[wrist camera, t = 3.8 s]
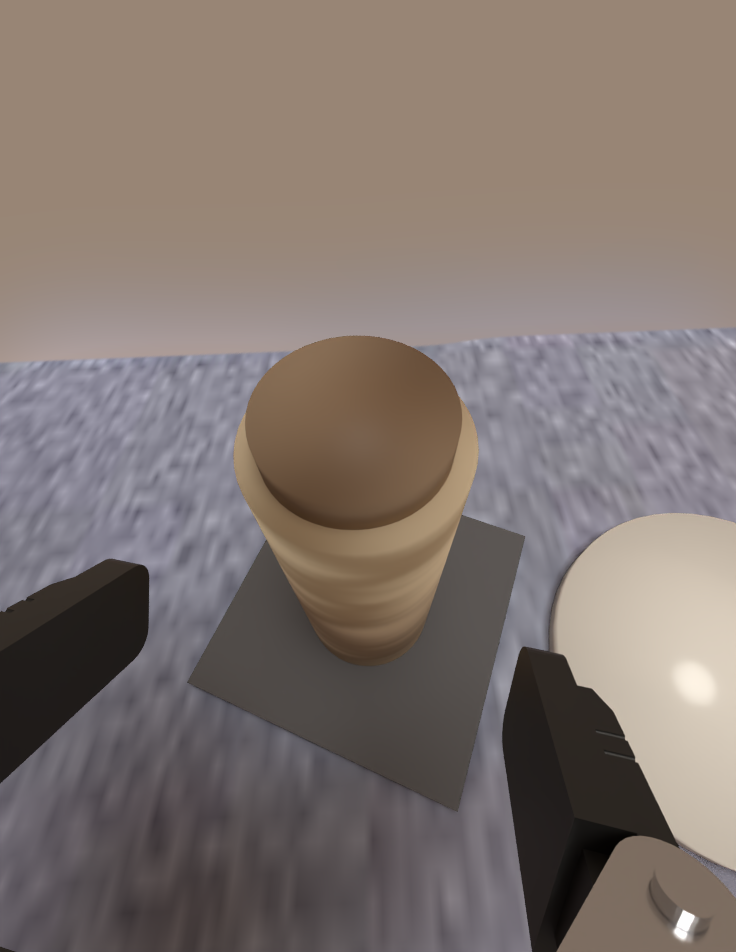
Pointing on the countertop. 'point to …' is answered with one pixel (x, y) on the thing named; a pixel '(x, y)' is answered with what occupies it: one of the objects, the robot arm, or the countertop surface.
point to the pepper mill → (358, 486)
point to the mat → (374, 668)
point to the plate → (664, 661)
